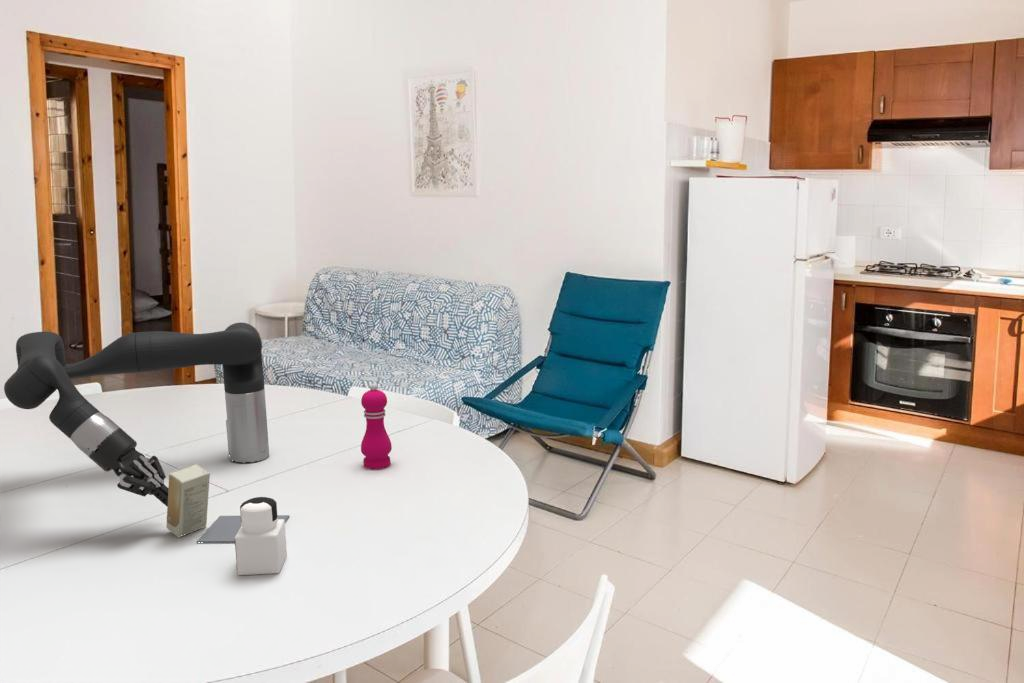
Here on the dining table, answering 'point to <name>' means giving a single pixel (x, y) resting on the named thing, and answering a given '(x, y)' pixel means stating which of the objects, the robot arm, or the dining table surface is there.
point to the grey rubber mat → (226, 529)
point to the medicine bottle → (260, 538)
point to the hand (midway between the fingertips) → (173, 502)
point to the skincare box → (187, 500)
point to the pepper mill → (375, 430)
